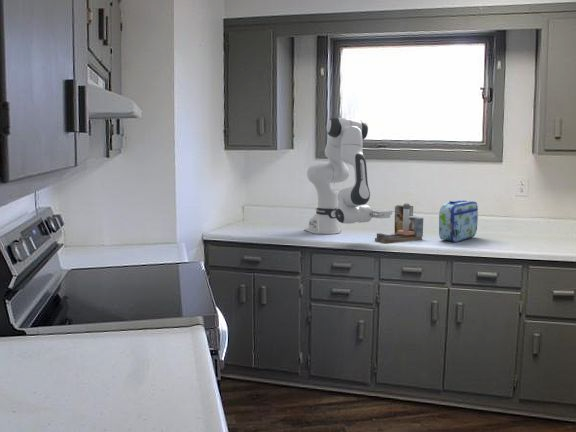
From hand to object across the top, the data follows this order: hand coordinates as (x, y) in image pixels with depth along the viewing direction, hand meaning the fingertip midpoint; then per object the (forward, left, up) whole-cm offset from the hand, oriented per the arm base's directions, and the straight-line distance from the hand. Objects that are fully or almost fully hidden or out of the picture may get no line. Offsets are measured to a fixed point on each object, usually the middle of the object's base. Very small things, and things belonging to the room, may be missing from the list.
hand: (385, 211), depth 324 cm
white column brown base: (0, +15, -13) cm, 20 cm away
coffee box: (-12, +25, -16) cm, 32 cm away
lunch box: (+15, +39, -16) cm, 44 cm away
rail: (0, +10, -16) cm, 19 cm away
